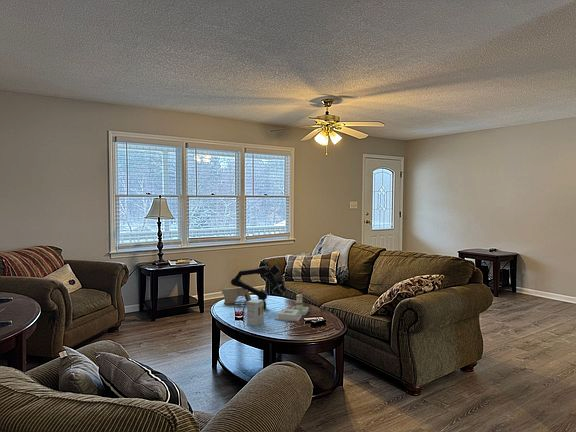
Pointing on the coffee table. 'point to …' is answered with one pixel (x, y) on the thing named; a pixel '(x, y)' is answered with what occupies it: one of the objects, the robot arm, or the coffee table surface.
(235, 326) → the coffee table surface
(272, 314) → the coffee table surface
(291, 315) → the grey block with recess
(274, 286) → the robot arm
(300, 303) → the cream rounded cylinder
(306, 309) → the parts tray
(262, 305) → the supplement box
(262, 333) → the coffee table surface
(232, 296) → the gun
